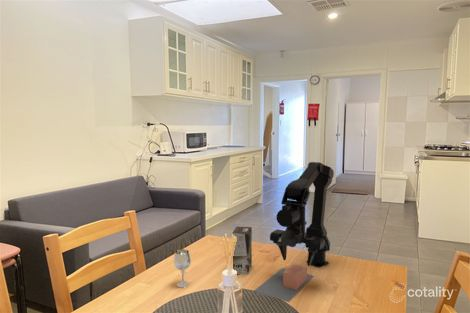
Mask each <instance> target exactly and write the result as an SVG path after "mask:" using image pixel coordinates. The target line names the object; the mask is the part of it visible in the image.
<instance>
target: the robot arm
mask: <svg viewBox="0 0 470 313" xmlns="http://www.w3.org/2000/svg"><path fill="white" fill-rule="evenodd" d="M334 174H335V172H334V169H333V168H331V167H330V166H328V165H326V164H323V163H322V162H320V161H319V162H318V161H317V162H316V161H311V162H308V163H307V167H306V168H305V170H304V171H303V172H302V173H301V175H300V176H299V177H298V178H297V179H295V180H292V181H291V182H289V183H288V185H287V186H285V189H284V192H283V196H282V199H281V205H282V206H281V209H280V210H279V211H278V212H277V214H276V217H275V218H276V221H277V223H278V225H279V226H281V227H283V228H285V230H283V229H279V228H277V229H275V230H274V231H271V233H270V234H269V241H271V242H272V243H273V244H275V245H276V246H277V247H278V249H279V252H280V255H281V257H282V259H283V261H286V260H287V252H288V251H287V249H288V248H287V247H290V248H295V247H296V246H297V244H298V245H299V244H305V248H306V249H307V252H308V253H307V260H306V263H307V267H309V266H310V267H311V265H313V266H314V267H317V268H318V267H319V268H320V267H323V266H325V265H327V264H330V263H329V262H330V261H327V260H326V252H330V251H331V250H330V249H331V248H330V247H331V242H330V240H329V237H328V231H327V229H326V227H325V225H324V223H325V211H326V204H327V202H326V201H327V193H328V192H327V190H328V188H329V186H331V184H332V181H333V178H334ZM312 185H313V186H314V196H313V203H312V204H313V205H312V215H311V222H310V225H309V226H307V227H306V225H307V221H306V205H307V204H308V200H309V197H310V195H311V194H310V192H311V191H310V187H311V186H312Z"/></svg>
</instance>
